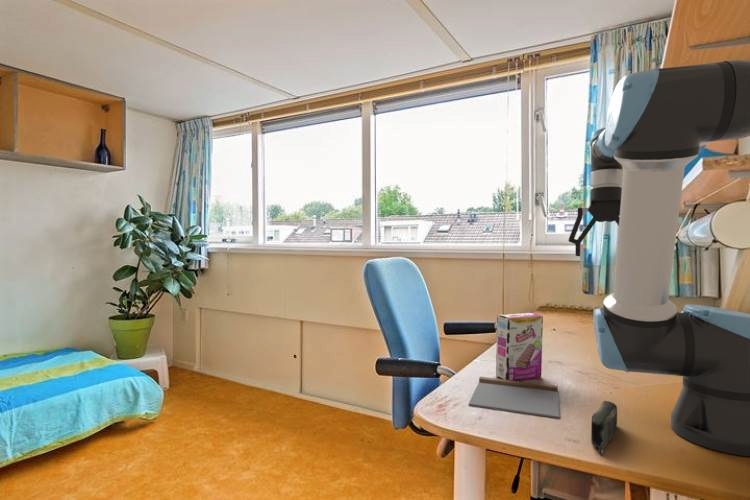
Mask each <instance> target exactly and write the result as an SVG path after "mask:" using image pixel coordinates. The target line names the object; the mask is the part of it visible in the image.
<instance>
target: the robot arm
mask: <svg viewBox="0 0 750 500" xmlns="http://www.w3.org/2000/svg"><path fill="white" fill-rule="evenodd" d="M605 120H606V122H605V127H600V128H597V129H595V130H593V131H592V133H591V136H590V143H589V146H590V177H589V178H590V187H591V189H590V190H589V191H590V193H589V195H590V196H589V198H590V200H589V206H588V207H578V208H577V216H576V219H575V221H574V224H573V226H572V229H571V232H570V235H569V238H568V240H567V241H568V242H569V243H572V244H574V246H575V256H576V257H579V269H581V270H583V269H584V244H581V243H582V242H583V240H584V239H585V238H586V236H587V235H588V234H589V232H590V231H591V229H592V228H593V226H594V225H595V224H596V222H598V223H603V222H607V223H613V222H615V223H616V224H617V226H618V233H617V247H616V256H615V259H616V260H615V268H614V269H615V272H614V283H613V292H612V293H610V294H608V295H607V296H605V297H604V300H603V306H602V307H598V308H594V309H593V316H592V318H593V319H592V320H593V329H594V336H595V343H596V348H597V353H598V357H599V361H600V362H601V365H603V366H604V367H605V368H607V369H608V370H614V371H622V372H625V373H630V372H631V373H640V374H641V373H642V374H643V373H644V374H651V375H653V374H654V375H666V376H676V377H682V388H681V390H680V393H679V395H678V397H677V399H676V402H675V404H674V405H673V406H674V407H673V408H672V411H671V413H670V427H671V430H672V431H673V432H674V433H676V434H677V435H679V436H680V437H682V438H684V439H685V440H687V441H689V442H691V443H694V444H696V445H698V446H701V447H704V448H706V449H710V450H714V451H717V452H720V453H721V452H722V453H726V454H730V455H734V456H735V455H736V456H740V457H741V456H742V457H749V458H750V314H749V313H746V312H741V311H736V310H731V309H726V308H723V307H722V308H720V307H716V306H715V307H714V306H710V305H701V304H691V303H690V304H685V305H684V306H683V308H682V311H683V312H682V311H680V312H679V311H678V308H677V306H676V304H674V303H673V301H671V300H670V299H669V297H670V287H671V280H672V273H673V272H672V271H673V263H674V254H675V247H676V239H677V232H678V223H679V215H680V208H681V207H680V206H681V201H682V200H681V199H682V192H683V191H682V190H683V184H684V176H685V168H686V166H687V165H688V164H689V163H691V162H692V161H694V160H695V159H696V158H697V157H698V156H699V153H701V152H703V151H704V150H705V148H706V146H707V145H708V144H712V143H714V142H717V141H719V142H720V141H729V140H738V139H743V138H747V137H750V60H746V59H745V60H744V59H742V60H741V59H731V60H724V61H719V62H708V63H701V64H700V63H698V64H691V65H682V66H681V65H680V66H673V67H661V68H652V69H647V70H642V71H641V70H640V71H637V72H631V73H629V74H626V75H625V76H623V77H622V78H621V79H619V81H618V83H617V84H616V86H615V89H614V91H613V93H612V97H611V99H610V103H609V107H608V111H607V117H606V119H605ZM587 213H589V215H591V216H592V218H591V219H590V221H589V222H588V224H587V225H586V226H585V228H584V230H583V231H582V232H581V233H580V235H579V236H578V238H577V239H576V235H577V232H578V230H579V227H580V224H581V223H582V219H583V216H586V214H587ZM681 312H682V313H681Z"/></svg>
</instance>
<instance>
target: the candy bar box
mask: <svg viewBox="0 0 750 500" xmlns="http://www.w3.org/2000/svg"><path fill="white" fill-rule="evenodd" d="M496 316H497V318H496V357H495V359H496V360H495V361H496V362H495V377H496V378H497V379H505V380H513V381H526V380H531V379H533V380H534V379H538V378H542V369H543V368H542V365H543V363H542V362H543V361H542V356H543V323H544V319H543V318H544V316H543V315H541V314H537V313H534V312H533V313H532V312H523V313H522V312H521V313H508V314H507V313H505V314H497V315H496Z"/></svg>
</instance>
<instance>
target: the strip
mask: <svg viewBox="0 0 750 500" xmlns="http://www.w3.org/2000/svg"><path fill="white" fill-rule="evenodd" d="M479 382H484V383H492V384H500V385H508V386H516V387H524V388H533V389H541V390H549V391H557V392H558V393H559V391H558V390H559V389H558V388H559V386H558V385H554V384H546V383H538V382H531V381H530V382H528V381H523V380H519V381H513V380H505V379H499V378H498V377H496V378H495V377H487V376H479V378H478V383H479Z"/></svg>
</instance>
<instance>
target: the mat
mask: <svg viewBox="0 0 750 500" xmlns="http://www.w3.org/2000/svg"><path fill="white" fill-rule="evenodd" d="M559 404H560V403H559V391H558V392H557V391H549V390H541V389H533V388H524V387H516V386H508V385H500V384H492V383H484V382H479V381H478V384H477V386H476V387H475V389H474V391H473V393H472V396H471V398H470V400H469V402H468V406H469V405H471V407H478V408H483V409H492V410H499V411H505V412H512V413H517V414H518V413H519V414H525V415H533V416H539V417H547V418H553V419H559V420H560V405H559Z"/></svg>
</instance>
